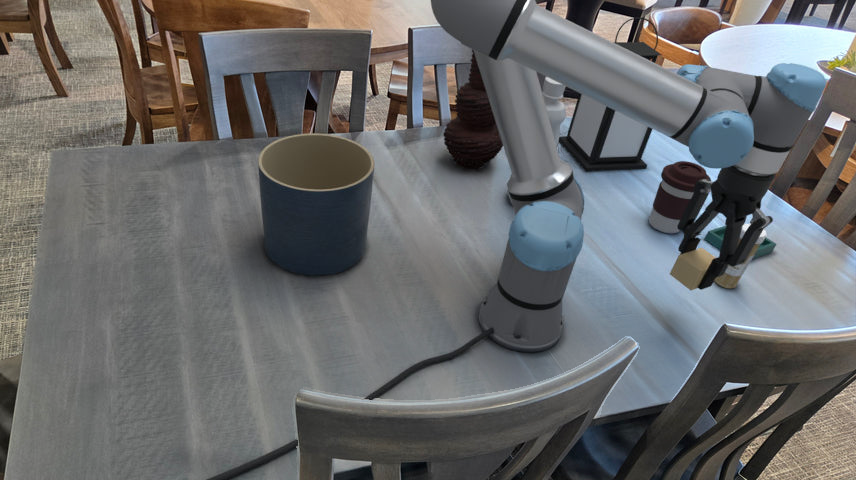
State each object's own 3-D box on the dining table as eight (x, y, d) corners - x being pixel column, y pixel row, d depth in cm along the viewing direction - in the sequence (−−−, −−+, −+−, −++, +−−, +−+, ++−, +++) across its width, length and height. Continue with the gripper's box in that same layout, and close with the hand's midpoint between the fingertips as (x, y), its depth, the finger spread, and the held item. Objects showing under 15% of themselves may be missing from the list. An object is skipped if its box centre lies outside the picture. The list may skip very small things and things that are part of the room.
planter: (378, 226, 139) (386, 144, 127) (351, 288, 123) (356, 200, 110) (284, 207, 143) (282, 125, 130) (245, 264, 127) (239, 177, 114)
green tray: (740, 263, 136) (744, 255, 135) (704, 239, 142) (708, 230, 141) (772, 252, 140) (777, 244, 138) (735, 229, 146) (739, 220, 145)
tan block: (690, 290, 112) (701, 271, 110) (669, 274, 116) (678, 254, 113) (713, 282, 115) (724, 263, 112) (691, 266, 118) (701, 247, 115)
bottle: (509, 211, 147) (540, 88, 128) (501, 190, 154) (529, 70, 135) (547, 212, 148) (584, 89, 128) (538, 191, 154) (571, 72, 135)
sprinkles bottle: (709, 280, 131) (737, 227, 122) (719, 272, 133) (748, 220, 125) (730, 292, 128) (761, 239, 120) (740, 284, 130) (771, 231, 122)
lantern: (585, 171, 163) (630, 35, 141) (557, 140, 176) (595, 10, 154) (645, 168, 166) (699, 34, 144) (614, 138, 179) (658, 10, 157)
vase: (430, 151, 168) (446, 37, 148) (482, 145, 172) (505, 33, 152) (454, 180, 156) (475, 61, 137) (509, 173, 160) (537, 57, 141)
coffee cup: (691, 240, 142) (719, 183, 132) (645, 233, 143) (670, 176, 133) (682, 216, 149) (708, 160, 140) (639, 210, 150) (662, 154, 141)
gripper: (819, 189, 95) (747, 303, 110) (720, 136, 107) (668, 245, 122) (787, 199, 93) (718, 314, 108) (690, 143, 105) (640, 253, 120)
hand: (691, 277), depth 115 cm, fingers closed on tan block, 5 cm apart
